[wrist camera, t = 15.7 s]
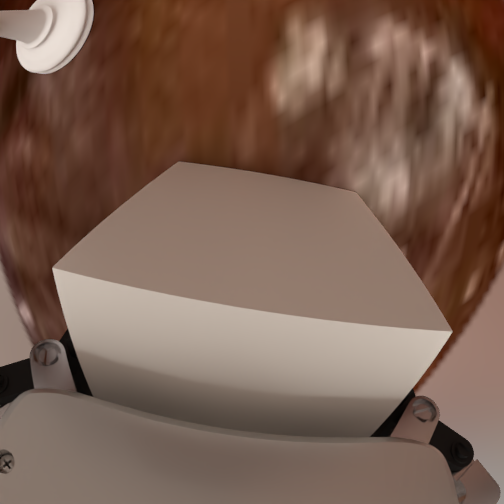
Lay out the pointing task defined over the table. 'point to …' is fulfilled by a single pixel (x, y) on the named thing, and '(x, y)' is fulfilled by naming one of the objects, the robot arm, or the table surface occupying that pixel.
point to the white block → (249, 306)
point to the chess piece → (48, 32)
